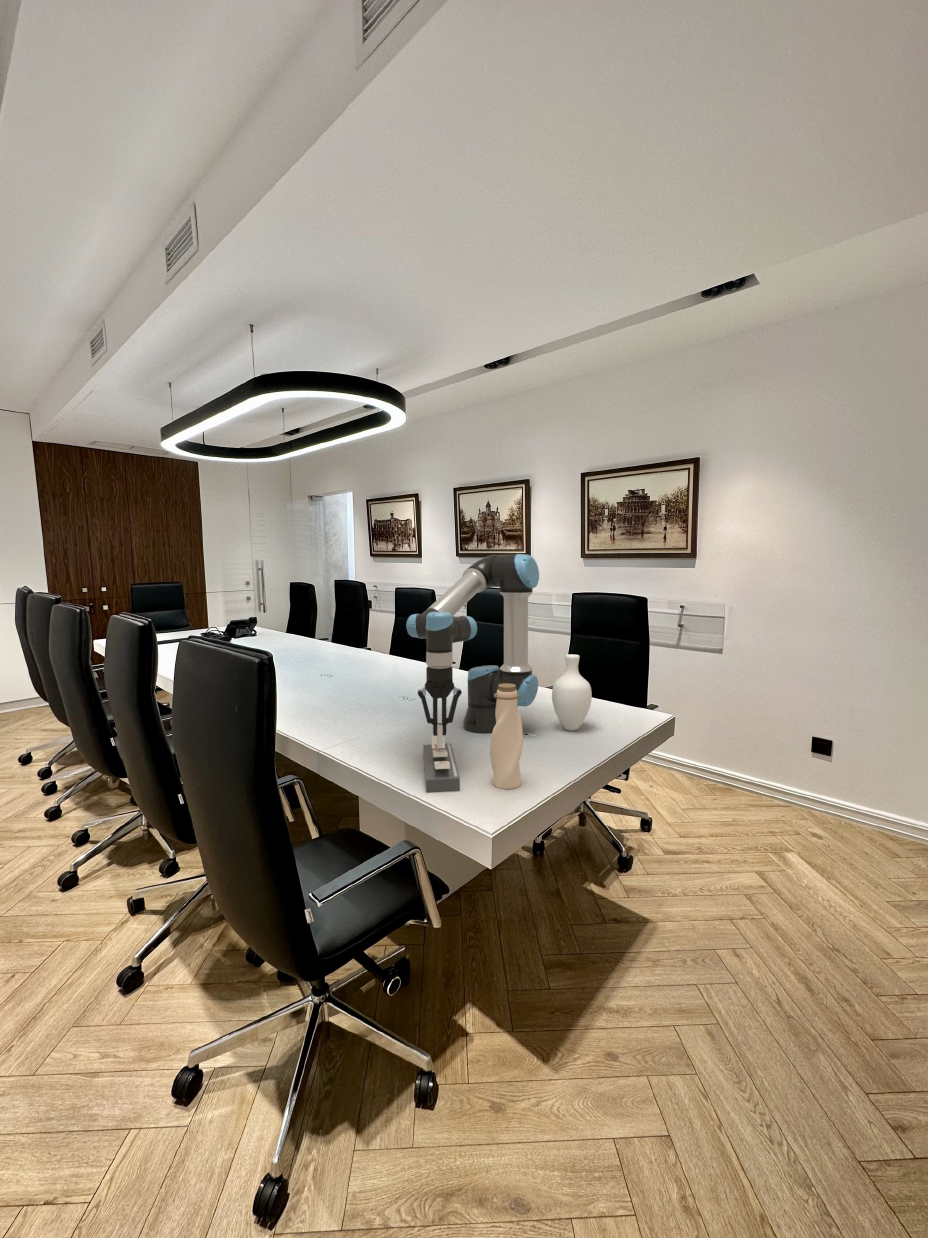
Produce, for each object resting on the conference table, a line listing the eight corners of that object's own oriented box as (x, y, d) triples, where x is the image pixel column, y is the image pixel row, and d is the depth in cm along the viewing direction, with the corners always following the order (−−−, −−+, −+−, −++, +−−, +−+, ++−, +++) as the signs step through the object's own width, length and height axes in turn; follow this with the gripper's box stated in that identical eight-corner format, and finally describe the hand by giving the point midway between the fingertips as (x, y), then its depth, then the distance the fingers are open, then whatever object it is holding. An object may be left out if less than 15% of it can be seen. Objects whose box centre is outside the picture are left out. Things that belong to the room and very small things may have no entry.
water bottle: (487, 775, 152) (487, 681, 149) (518, 774, 153) (518, 680, 150) (492, 790, 142) (492, 689, 139) (525, 789, 143) (525, 688, 140)
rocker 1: (443, 738, 167) (443, 734, 167) (445, 751, 161) (445, 747, 160) (431, 739, 167) (431, 735, 166) (432, 752, 160) (432, 748, 160)
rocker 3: (448, 766, 149) (447, 760, 150) (450, 768, 142) (449, 762, 143) (434, 766, 149) (434, 761, 149) (435, 769, 142) (435, 763, 142)
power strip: (449, 745, 178) (448, 734, 178) (459, 790, 142) (459, 777, 141) (422, 746, 177) (422, 735, 177) (426, 792, 141) (426, 779, 140)
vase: (585, 723, 202) (586, 651, 199) (595, 735, 187) (597, 658, 184) (548, 724, 201) (549, 652, 198) (555, 736, 187) (556, 658, 184)
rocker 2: (445, 754, 158) (445, 749, 158) (447, 756, 151) (447, 751, 152) (432, 755, 158) (432, 750, 158) (433, 757, 151) (433, 751, 151)
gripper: (460, 663, 154) (460, 741, 156) (416, 664, 152) (417, 742, 155) (463, 668, 146) (463, 749, 149) (416, 669, 145) (417, 751, 147)
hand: (439, 746), depth 152 cm, fingers closed
